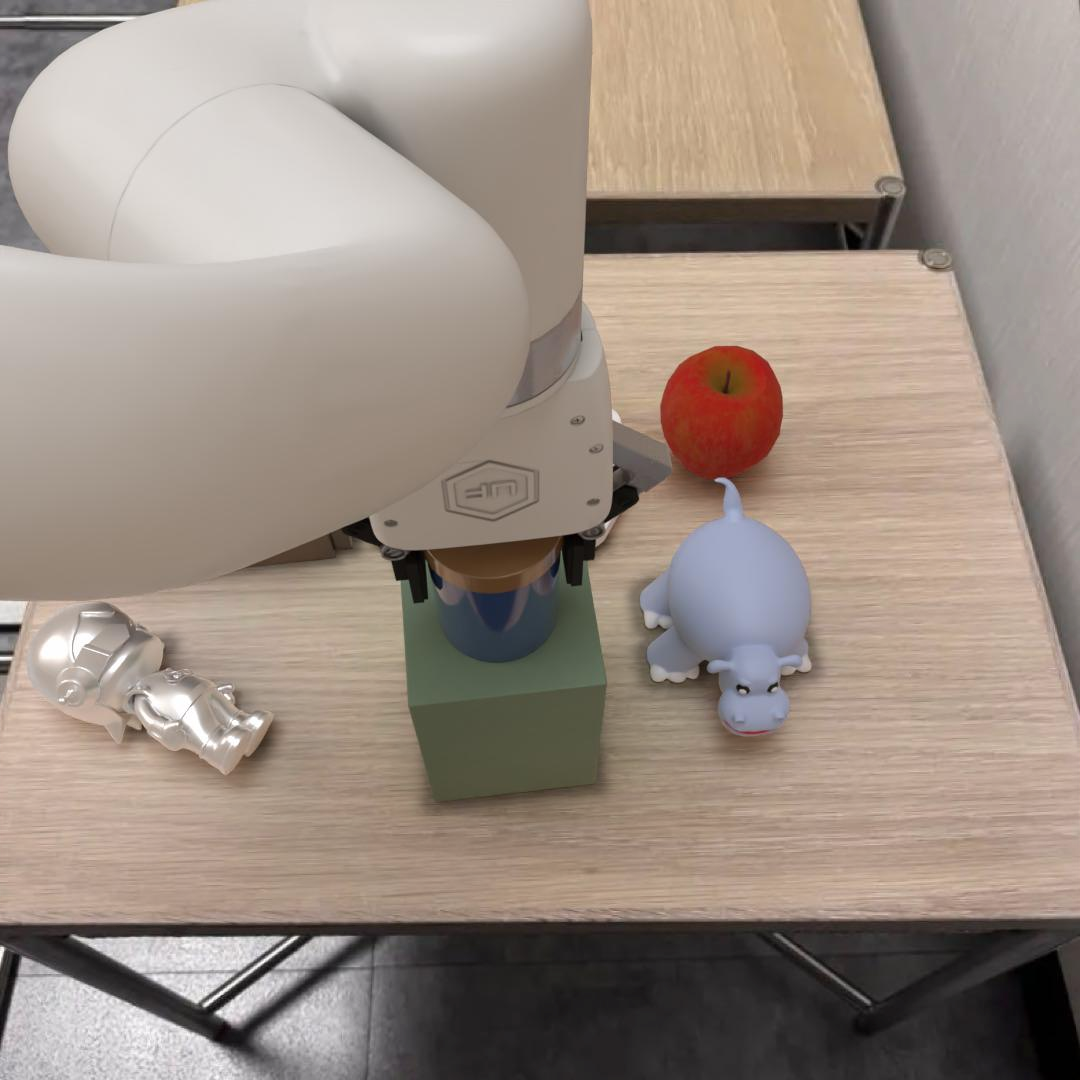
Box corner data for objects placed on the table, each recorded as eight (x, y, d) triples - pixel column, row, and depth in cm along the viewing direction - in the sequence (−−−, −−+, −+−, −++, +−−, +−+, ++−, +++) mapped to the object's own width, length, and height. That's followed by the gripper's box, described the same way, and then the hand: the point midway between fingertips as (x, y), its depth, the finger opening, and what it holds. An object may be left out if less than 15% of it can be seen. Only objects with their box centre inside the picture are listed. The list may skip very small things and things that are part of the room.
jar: (437, 673, 54) (420, 586, 46) (428, 558, 58) (411, 460, 50) (571, 658, 54) (575, 569, 47) (554, 545, 58) (555, 445, 50)
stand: (434, 803, 66) (408, 706, 53) (424, 656, 71) (397, 537, 58) (595, 783, 66) (607, 683, 54) (573, 639, 72) (579, 518, 59)
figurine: (225, 739, 60) (3, 604, 61) (178, 840, 62) (-35, 708, 63) (306, 674, 70) (114, 560, 71) (264, 763, 72) (78, 650, 73)
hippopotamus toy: (660, 763, 67) (676, 703, 59) (632, 558, 75) (643, 480, 67) (830, 751, 67) (869, 690, 59) (785, 548, 75) (814, 470, 67)
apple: (681, 404, 82) (698, 303, 73) (785, 445, 80) (816, 346, 71) (633, 485, 78) (644, 389, 69) (741, 531, 76) (768, 438, 67)
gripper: (219, 420, 35) (318, 657, 50) (741, 370, 36) (683, 617, 51) (227, 258, 39) (316, 523, 54) (697, 217, 40) (655, 488, 55)
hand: (495, 567), depth 52 cm, fingers closed on jar, 6 cm apart
